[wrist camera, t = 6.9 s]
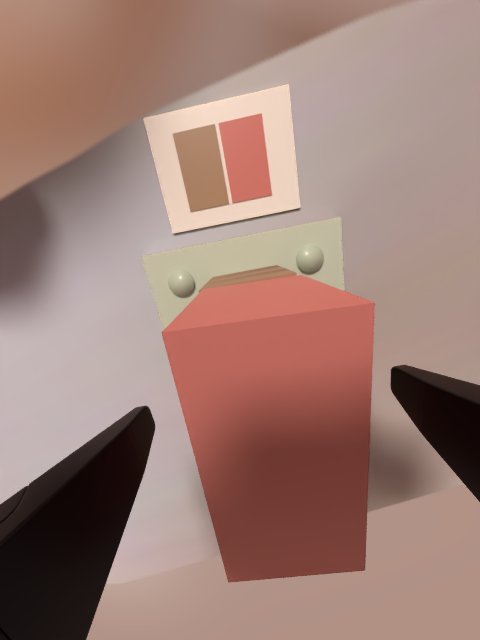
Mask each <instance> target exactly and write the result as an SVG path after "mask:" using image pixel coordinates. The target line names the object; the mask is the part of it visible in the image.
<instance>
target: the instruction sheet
mask: <svg viewBox="0 0 480 640" xmlns="http://www.w3.org/2000/svg"><path fill="white" fill-rule="evenodd" d="M143 120H144V124H145V127H146V131H147V135H148V139H149V143H150V147H151V151H152V155H153V159H154V162H155V166H156V170H157V174H158V178H159V182H160V186H161V190H162V193H163V197H164V201H165V205H166V209H167V213H168V217H169V221H170V224H171V228H172V232H173V234H174V233H179V232H184V231H189V230H194V229H199V228H204V227H209V226H214V225H219V224H224V223H229V222H234V221H239V220H244V219H248V218H253V217H258V216H263V215H268V214H273V213H278V212H283V211H288V210H293V209H298V208H300V198H299V188H298V177H297V166H296V156H295V145H294V135H293V124H292V114H291V103H290V93H289V84H287V85H283V86H278V87H274V88H270V89H265V90H261V91H257V92H253V93H248V94H244V95H240V96H235V97H231V98H227V99H223V100H218V101H214V102H210V103H206V104H201V105H197V106H193V107H188V108H184V109H180V110H176V111H171V112H167V113H163V114H158V115H154V116H150V117H146V118H143Z"/></svg>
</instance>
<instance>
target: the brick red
mask: <svg viewBox="0 0 480 640" xmlns="http://www.w3.org/2000/svg"><path fill="white" fill-rule="evenodd" d="M373 330H374V302H371V301H369V300H366V299H363V298H361V297H358V296H356V295H353V294H350V293H348V292H345V291H343V290H340V289H338V288H335V287H332V286H330V285H327V284H325V283H322V282H319V281H317V280H314V279H312V278H309V277H307V276H304V275H296V276H289V277H283V278H276V279H269V280H262V281H255V282H248V283H242V284H235V285H228V286H221V287H214V288H207V289H203V290H202V291H201V292H200V293H199V294H198V295H197V296H196V297H195V298H194V299H193V300H192V301H191V302H190V303H189V304H188V305H187V306H186V307H185V308H184V310H183V311H182V312H181V313H180V314H179V315H178V316H177V317H176V318H175V319H174V320H173V321H172V322H171V323H170V324H169V325H168V326H167V327H166V328H165V329H164V330H163V331H162V336H163V340H164V344H165V347H166V351H167V355H168V359H169V362H170V366H171V370H172V373H173V377H174V381H175V385H176V388H177V392H178V396H179V400H180V403H181V407H182V411H183V414H184V418H185V422H186V426H187V429H188V433H189V437H190V441H191V444H192V448H193V452H194V456H195V459H196V463H197V467H198V470H199V474H200V478H201V482H202V485H203V489H204V493H205V497H206V500H207V504H208V508H209V512H210V515H211V519H212V523H213V526H214V530H215V534H216V538H217V541H218V545H219V549H220V553H221V556H222V560H223V563H224V567H225V571H226V575H227V579H228V582H238V581H249V580H260V579H271V578H284V577H295V576H307V575H318V574H329V573H341V572H352V571H364V570H365V557H366V526H367V500H368V472H369V443H370V415H371V387H372V358H373Z"/></svg>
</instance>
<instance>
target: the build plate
mask: <svg viewBox="0 0 480 640" xmlns="http://www.w3.org/2000/svg"><path fill="white" fill-rule="evenodd" d="M141 258H142V261H143V264H144V267H145V271H146V274H147V277H148V281H149V284H150V287H151V290H152V294H153V297H154V300H155V303H156V307H157V310H158V313H159V316H160V320H161V323H162V326H163V329H165V328H166V327H167V326H168V325H169V324H170V323H171V322H172V321H173V320H174V319H175V318H176V317H177V316H178V315H179V314H180V313H181V312H182V311H183V310H184V308H185V307H186V306H187V305H188V304H189V303H190V302H191V301H192V300H193V299H194V298H195V297H196V296H197V295H198V294H199V290H200V289H201V288H202V287H203V286H204V285H205V284H206V283H207V282H208V281H209V280H210V279H211V278H212V277H216V276H221V275H226V274H231V273H237V272H242V271H247V270H252V269H258V268H263V267H268V266H274V265H278V266H281V267H283V268H286V269H288V270H291V271H294V272H296V273H297V275H304V276H307V277H309V278H312V279H314V280H317V281H319V282H322V283H325V284H327V285H330V286H332V287H335V288H338V289H340V290H343V291H344V273H343V251H342V229H341V217H337V218H332V219H327V220H322V221H317V222H312V223H307V224H302V225H297V226H292V227H287V228H282V229H277V230H272V231H266V232H261V233H256V234H251V235H246V236H241V237H236V238H231V239H226V240H221V241H216V242H211V243H206V244H201V245H196V246H191V247H186V248H181V249H176V250H171V251H166V252H160V253H155V254H150V255H145V256H141Z"/></svg>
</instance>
